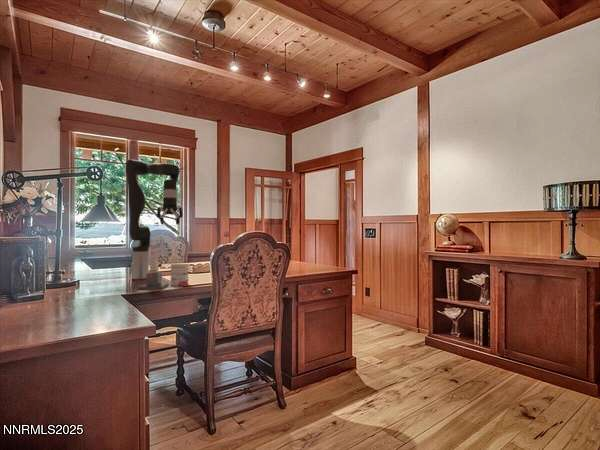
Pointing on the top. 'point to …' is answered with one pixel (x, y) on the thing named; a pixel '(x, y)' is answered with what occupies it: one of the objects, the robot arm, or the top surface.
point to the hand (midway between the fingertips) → (169, 224)
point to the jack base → (153, 282)
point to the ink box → (179, 274)
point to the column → (153, 259)
